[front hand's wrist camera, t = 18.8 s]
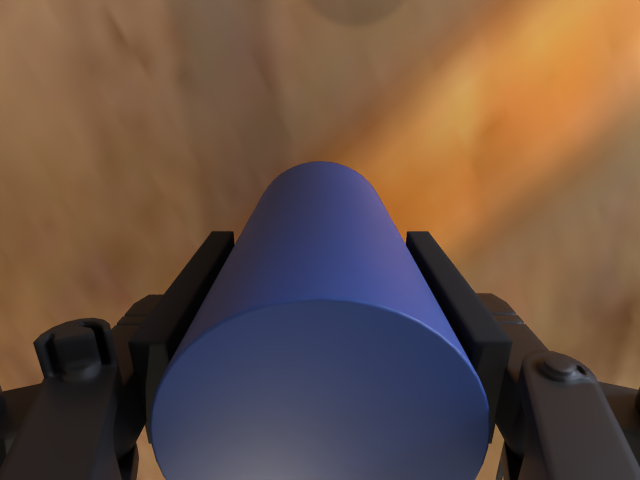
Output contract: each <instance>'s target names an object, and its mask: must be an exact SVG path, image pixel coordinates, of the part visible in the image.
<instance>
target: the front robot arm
mask: <svg viewBox="0 0 640 480" xmlns="http://www.w3.org/2000/svg"><path fill="white" fill-rule="evenodd" d="M406 246H407V248H408V250H409V252H410V254H411V255H412V257H413V259H414V261H415V263H416V264H417V266H418V268H419V270H420V272H421V274H422V275H423V277H424V279H425V281H426V283H427V284H428V286H429V288H430V290H431V292H432V293H433V295H434V297H435V299H436V301H437V303H438V304H439V306H440V308H441V310H442V312H443V313H444V315H445V317H446V319H447V321H448V322H449V324H450V326H451V328H452V330H453V332H454V333H455V335H456V337H457V339H458V341H459V342H460V344H461V346H462V348H463V350H464V351H465V353H466V355H467V357H468V359H469V360H470V362H471V364H472V366H473V368H474V370H475V371H476V373H477V375H478V377H479V379H480V381H481V384H482V386H483V389H484V391H485V394H486V397H487V402H488V406H489V411H490V437H489V443H492V438H493V433H494V428H495V424H496V425H497V427H498V429H499V430H500V432H501V434H502V436H503V438H504V444H503V448H502V453H501V457H500V462H499V466H498V471H497V475H496V480H502V477H504V480H640V387H639V390H636V389H632V388H627V387H622V386H617V385H612V384H607V383H603V382H599V381H597V379H596V377H595V376H594V374H593V373H592V372H591V370H590V369H589V368H587V367H586V366H585V365H583V364H582V363H580V362H579V361H577V360H575V359H573V358H571V357H569V356H567V355H564V354H560V353H556V352H553V351H549V350H548V349H547V348H546V347H545V346H544V344H543V343H542V342H541V341H540V340H539V339H538V338H537V337H536V335H535V334H534V333H533V332H532V331H531V330H530V329H529V327H528V326H527V325H526V324H524V322H523V321H522V319H521V318H520V317H519V316H518V315H516V313H515V312H514V310H513V309H512V308H511V307H510V306H509V305H508V304H507V302H505V301H503V300H502V299H500V298H498V297H497V296H495V295H493V294H492V293H475V292H474V291H473V289H472V288H471V287H470V285H469V284H468V283H467V281H466V280H465V279H464V278H463V276H462V275H461V274H460V272H459V271H458V270H457V268H456V267H455V266H454V265H453V263H452V262H451V261H450V259H449V258H448V257H447V255H446V254H445V253H444V251H443V250H442V249H441V248H440V246H439V245H438V244H437V242H436V241H435V240H434V238H433V237H432V236H431V235H430V233H429V232H428V231H407V237H406ZM233 247H234V233H233V231H212V232H211V234H210V235H209V236H208V238H207V239H206V240H205V241H204V243H203V244H202V245H201V247H200V248H199V249H198V251H197V252H196V253H195V255H194V256H193V257H192V258H191V260H190V261H189V262H188V264H187V265H186V266H185V268H184V269H183V270H182V271H181V273H180V274H179V275H178V277H177V278H176V279H175V281H174V282H173V283H172V285H171V286H170V287H169V288H168V290H167V291H166V292H165V294H164V295H148V296H146V297H145V298H143V299H141V300H140V301H138V302H136V303H135V304H133V306H132V307H131V308H130V309H129V310H128V311H127V312H126V314H125V317H122V318H121V319H120V320H119V322H118V323H117V326H114V327H113V328H112V330H111V328H110V324H109V323H107V322H106V321H105V320H102V319H97V318H85V319H77V320H73V321H69V322H65V323H63V324H60V325H58V326H55V327H53V328H51V329H49V330H48V331H46V332H44V333H43V334H41V335H40V336H39V337H38V338H37V339H36V340H35V341H34V342H33V344H34V347H35V350H36V353H37V356H38V360H39V363H40V366H41V369H42V372H43V376H44V379H43V381H42V383H40V384H37V385H32V386H27V387H22V388H17V389H12V390H8V391H3V392H2V389H1V386H0V480H136V479H137V470H138V462H139V454H138V448H137V444H136V441H137V439H138V437H139V435H140V433H141V431H142V429H143V427H144V425H145V427H146V432H147V437H148V441H149V443H152V442H151V432H150V418H151V407H152V403H153V399H154V395H155V391H156V389H157V387H158V385H159V382H160V380H161V378H162V376H163V374H164V372H165V370H166V368H167V366H168V365H169V363H170V361H171V359H172V357H173V356H174V354H175V352H176V350H177V348H178V347H179V345H180V343H181V341H182V339H183V338H184V336H185V334H186V332H187V330H188V328H189V327H190V325H191V323H192V321H193V319H194V318H195V316H196V314H197V312H198V310H199V309H200V307H201V305H202V303H203V301H204V300H205V298H206V296H207V294H208V292H209V291H210V289H211V287H212V285H213V283H214V282H215V280H216V278H217V276H218V274H219V273H220V271H221V269H222V267H223V265H224V264H225V262H226V260H227V258H228V256H229V255H230V253H231V251H232V249H233Z"/></svg>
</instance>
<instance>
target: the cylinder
mask: <svg viewBox="0 0 640 480" xmlns="http://www.w3.org/2000/svg"><path fill="white" fill-rule="evenodd" d="M150 432H151V442H152V447H153V451H154V454H155V458H156V461H157V463H158V465H159V467H160V470H161V472H162V474H163V476H164V478H165V479H166V480H475V479H476V477H477V475H478V473H479V471H480V469H481V467H482V465H483V462H484V459H485V456H486V452H487V449H488V444H489V437H490V411H489V406H488V402H487V397H486V394H485V391H484V389H483V386H482V384H481V381H480V379H479V377H478V375H477V373H476V371H475V370H474V368H473V366H472V364H471V362H470V360H469V359H468V357H467V355H466V353H465V351H464V350H463V348H462V346H461V344H460V342H459V341H458V339H457V337H456V335H455V333H454V332H453V330H452V328H451V326H450V324H449V322H448V321H447V319H446V317H445V315H444V313H443V312H442V310H441V308H440V306H439V304H438V303H437V301H436V299H435V297H434V295H433V293H432V292H431V290H430V288H429V286H428V284H427V283H426V281H425V279H424V277H423V275H422V274H421V272H420V270H419V268H418V266H417V264H416V263H415V261H414V259H413V257H412V255H411V254H410V252H409V250H408V248H407V246H406V245H405V243H404V241H403V239H402V237H401V235H400V234H399V232H398V230H397V228H396V226H395V225H394V223H393V221H392V219H391V217H390V216H389V214H388V212H387V210H386V208H385V207H384V205H383V203H382V201H381V199H380V197H379V196H378V194H377V192H376V191H375V189H374V188H373V187H372V185H371V184H370V183H369V182H368V181H367V180H366V179H365V178H364V177H363V176H362V175H360V174H359V173H357V172H356V171H354V170H352V169H350V168H348V167H346V166H343V165H340V164H337V163H332V162H322V161H319V162H309V163H304V164H300V165H297V166H295V167H292V168H290V169H288V170H286V171H285V172H283V173H282V174H280V175H279V176H278V177H277V178H276V179H274V180H273V181H272V183H271V184H270V185H269V186H268V187H267V189H266V190H265V192H264V193H263V195H262V197H261V199H260V200H259V202H258V204H257V206H256V208H255V209H254V211H253V213H252V215H251V217H250V218H249V220H248V222H247V224H246V226H245V227H244V229H243V231H242V233H241V235H240V236H239V238H238V240H237V242H236V244H235V245H234V247H233V249H232V251H231V253H230V255H229V256H228V258H227V260H226V262H225V264H224V265H223V267H222V269H221V271H220V273H219V274H218V276H217V278H216V280H215V282H214V283H213V285H212V287H211V289H210V291H209V292H208V294H207V296H206V298H205V300H204V301H203V303H202V305H201V307H200V309H199V310H198V312H197V314H196V316H195V318H194V319H193V321H192V323H191V325H190V327H189V328H188V330H187V332H186V334H185V336H184V338H183V339H182V341H181V343H180V345H179V347H178V348H177V350H176V352H175V354H174V356H173V357H172V359H171V361H170V363H169V365H168V366H167V368H166V370H165V372H164V374H163V376H162V378H161V380H160V382H159V385H158V387H157V389H156V391H155V395H154V399H153V403H152V407H151V418H150Z"/></svg>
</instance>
